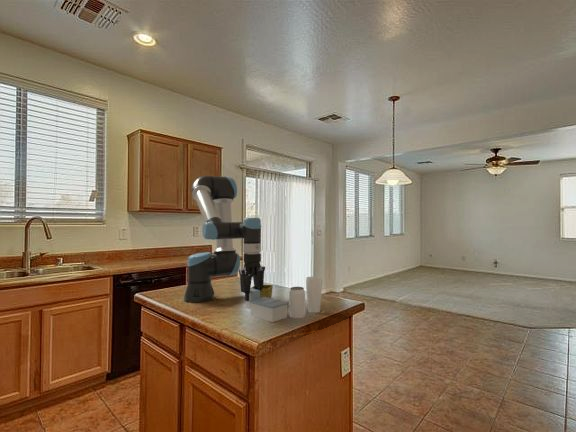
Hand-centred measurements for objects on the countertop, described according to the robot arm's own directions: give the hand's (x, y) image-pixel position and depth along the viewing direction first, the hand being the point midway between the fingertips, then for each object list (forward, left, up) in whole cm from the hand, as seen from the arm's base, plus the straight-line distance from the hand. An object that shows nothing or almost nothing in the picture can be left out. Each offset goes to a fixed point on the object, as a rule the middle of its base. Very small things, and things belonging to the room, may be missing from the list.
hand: (252, 307), depth 136 cm
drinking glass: (+19, +19, -3) cm, 27 cm away
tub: (+10, 0, -3) cm, 10 cm away
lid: (+8, 0, +1) cm, 8 cm away
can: (+18, +9, -3) cm, 20 cm away
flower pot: (-6, +11, -3) cm, 13 cm away
